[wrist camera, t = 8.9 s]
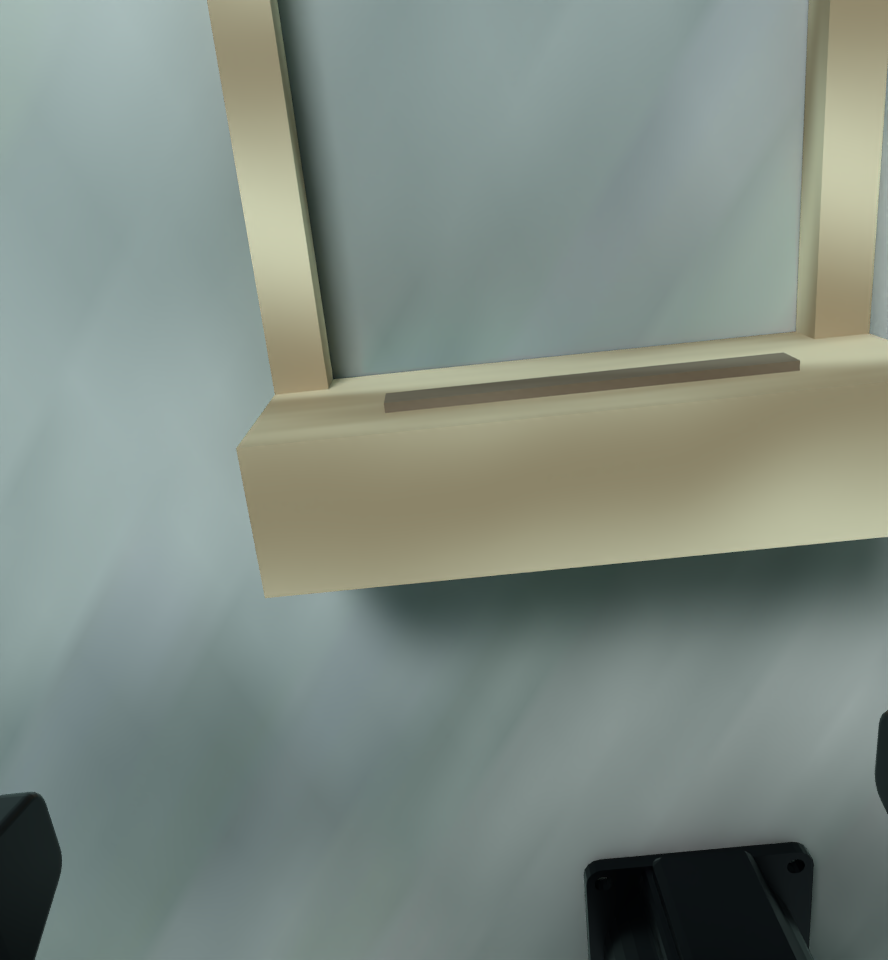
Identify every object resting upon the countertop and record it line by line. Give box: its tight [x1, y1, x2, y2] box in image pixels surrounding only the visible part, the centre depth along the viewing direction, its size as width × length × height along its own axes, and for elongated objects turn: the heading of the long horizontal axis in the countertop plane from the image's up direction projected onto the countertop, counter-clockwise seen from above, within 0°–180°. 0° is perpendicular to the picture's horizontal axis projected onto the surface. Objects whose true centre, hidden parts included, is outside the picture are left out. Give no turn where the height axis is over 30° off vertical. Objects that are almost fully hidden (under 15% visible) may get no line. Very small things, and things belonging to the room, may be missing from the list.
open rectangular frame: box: [207, 0, 888, 598], centre depth 16 cm, size 15×13×5 cm
